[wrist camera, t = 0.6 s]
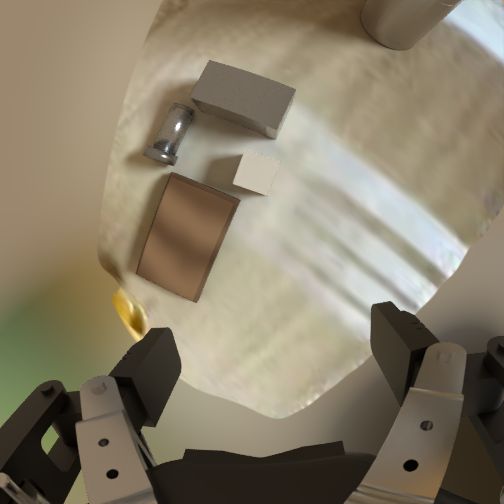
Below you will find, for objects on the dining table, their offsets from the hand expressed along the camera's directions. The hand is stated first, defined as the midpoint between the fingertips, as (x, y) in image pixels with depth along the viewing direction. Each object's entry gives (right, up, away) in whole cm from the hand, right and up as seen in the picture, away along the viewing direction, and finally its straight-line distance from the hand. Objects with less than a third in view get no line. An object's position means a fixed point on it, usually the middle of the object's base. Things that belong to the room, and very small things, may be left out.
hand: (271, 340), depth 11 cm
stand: (-9, +5, +25) cm, 27 cm away
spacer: (0, +13, +23) cm, 26 cm away
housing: (-1, +21, +21) cm, 30 cm away
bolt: (-10, +19, +22) cm, 31 cm away
